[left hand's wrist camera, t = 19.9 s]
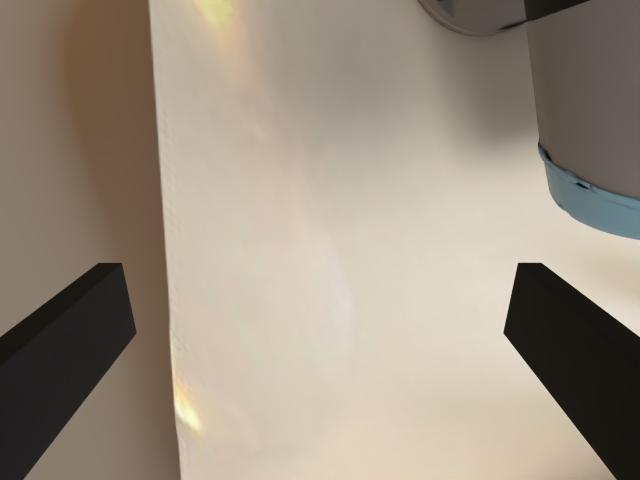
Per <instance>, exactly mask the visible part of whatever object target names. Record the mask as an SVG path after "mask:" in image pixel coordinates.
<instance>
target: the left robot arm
mask: <svg viewBox="0 0 640 480" xmlns="http://www.w3.org/2000/svg"><path fill="white" fill-rule="evenodd" d="M419 2H420V3H421V4H422V6H423V7H424V9H425V10H426V11H427V12H428V13H429V14H430V15H431V16H432V17H433V18H434V19H435V20H436V21H437V22H439V23H440V24H442V25H443V26H445V27H447V28H448V29H451V30H453V31H455V32H458V33H461V34H466V35H471V36H488V35H494V34H499V33H503V32H506V31H509V30H512V29H514V28H517V27H519V26H521V25H523V24H525V23H526V28H527V36H528V44H529V51H530V59H531V67H532V75H533V84H534V93H535V102H536V110H537V119H538V128H539V142H538V151H539V154H540V156H541V158H542V160H543V161H544V164H545V169H546V175H547V180H548V186H549V190H550V193H551V196H552V198H553V199H554V201H555V202H556V204H557V205H558V206H559V207H560V208H562V209H563V210H565V211H566V212H567V213H569V214H570V216H571V217H573V218H574V219H576V220H577V221H579V222H581V223H583V224H586V225H588V226H590V227H592V228H595V229H598V230H601V231H604V232H607V233H610V234H614V235H618V236H622V237H627V238H632V239H637V240H640V0H586V1H585V0H419ZM577 3H578V4H577ZM574 4H575V5H574ZM569 6H570V7H569ZM566 7H567V8H566ZM563 8H564V9H563ZM558 10H559V11H558ZM555 11H556V12H555ZM552 12H553V13H552ZM550 13H551V14H550ZM547 14H548V15H547ZM544 15H545V16H544ZM542 16H543V17H542ZM539 17H540V18H539ZM531 20H532V21H531ZM524 26H525V25H524ZM521 27H522V26H521ZM135 334H136V328H135V323H134V318H133V314H132V309H131V304H130V300H129V295H128V290H127V285H126V280H125V276H124V271H123V266H122V263H98V264H97V265H95V266H94V267H93V268H91V269H90V270H89V271H87V272H86V273H85V274H83V275H82V276H81V277H79V278H78V279H77V280H75V281H74V282H73V283H71V284H70V285H69V286H67V287H66V288H65V289H64V290H62V291H61V292H59V293H58V294H57V295H56V296H54V297H53V298H52V299H50V300H49V301H48V302H46V303H45V304H44V305H42V306H41V307H40V308H38V309H37V310H36V311H34V312H33V313H32V314H30V315H29V316H28V317H26V318H25V319H24V320H22V321H21V322H20V323H18V324H17V325H16V326H15V327H13V328H12V329H11V330H9V331H8V332H7V333H5V334H4V335H2V336H1V337H0V480H23V479H24V478H25V477H26V475H27V474H28V473H29V472H30V470H31V469H32V468H33V466H34V465H35V464H36V462H37V461H38V460H39V459H40V457H41V456H42V455H43V453H44V452H45V451H46V449H47V448H48V447H49V446H50V444H51V443H52V442H53V441H54V439H55V438H56V437H57V435H58V434H59V433H60V431H61V430H62V429H63V427H64V426H65V425H66V424H67V422H68V421H69V420H70V419H71V417H72V416H73V415H74V413H75V412H76V411H77V409H78V408H79V407H80V406H81V404H82V403H83V402H84V400H85V399H86V398H87V397H88V395H89V394H90V393H91V391H92V390H93V389H94V387H95V386H96V385H97V384H98V382H99V381H100V380H101V378H102V377H103V376H104V375H105V373H106V372H107V371H108V369H109V368H110V367H111V365H112V364H113V363H114V362H115V360H116V359H117V358H118V356H119V355H120V354H121V353H122V351H123V350H124V349H125V347H126V346H127V345H128V344H129V342H130V341H131V340H132V338H133V337H134V336H135ZM504 334H505V336H506V337H507V338H508V340H509V341H510V342H511V344H512V345H513V346H514V347H515V349H516V350H517V351H518V353H519V354H520V355H521V356H522V358H523V359H524V360H525V362H526V363H527V364H528V366H529V367H530V368H531V369H532V371H533V372H534V373H535V375H536V376H537V377H538V378H539V380H540V381H541V382H542V384H543V385H544V386H545V387H546V389H547V390H548V391H549V393H550V394H551V395H552V397H553V398H554V399H555V400H556V402H557V403H558V404H559V406H560V407H561V408H562V409H563V411H564V412H565V413H566V415H567V416H568V417H569V419H570V420H571V421H572V422H573V424H574V425H575V426H576V428H577V429H578V430H579V431H580V433H581V434H582V435H583V437H584V438H585V439H586V441H587V442H588V443H589V444H590V446H591V447H592V448H593V450H594V451H595V452H596V453H597V455H598V456H599V457H600V459H601V460H602V461H603V462H604V464H605V465H606V466H607V468H608V469H609V470H610V472H611V473H612V474H613V475H614V477H615V478H616V479H617V480H640V337H639V336H638V335H636V334H635V333H634V332H632V331H631V330H630V329H628V328H627V327H626V326H624V325H623V324H622V323H620V322H619V321H618V320H616V319H615V318H614V317H612V316H611V315H610V314H608V313H607V312H606V311H604V310H603V309H602V308H600V307H599V306H598V305H596V304H595V303H594V302H592V301H591V300H590V299H588V298H587V297H586V296H584V295H583V294H582V293H581V292H579V291H578V290H577V289H575V288H574V287H573V286H571V285H570V284H569V283H567V282H566V281H565V280H563V279H562V278H561V277H559V276H558V275H557V274H555V273H554V272H553V271H551V270H550V269H549V268H547V267H546V266H545V265H543V264H542V263H518V266H517V271H516V276H515V280H514V285H513V290H512V295H511V299H510V304H509V309H508V314H507V318H506V323H505V328H504Z"/></svg>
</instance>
